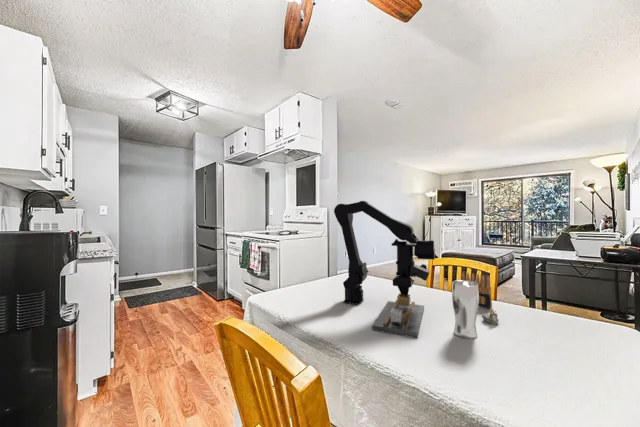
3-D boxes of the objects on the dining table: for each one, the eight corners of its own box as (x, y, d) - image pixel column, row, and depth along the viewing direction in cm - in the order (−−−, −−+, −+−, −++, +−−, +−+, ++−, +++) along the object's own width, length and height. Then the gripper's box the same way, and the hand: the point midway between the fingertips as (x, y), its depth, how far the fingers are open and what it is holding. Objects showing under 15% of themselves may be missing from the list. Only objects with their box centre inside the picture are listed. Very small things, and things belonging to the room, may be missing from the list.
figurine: (478, 318, 94) (480, 301, 93) (491, 318, 94) (493, 301, 93) (488, 327, 88) (491, 309, 88) (502, 327, 89) (505, 309, 88)
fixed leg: (390, 325, 86) (390, 311, 86) (392, 322, 89) (392, 308, 88) (400, 327, 85) (400, 312, 85) (402, 323, 87) (402, 309, 87)
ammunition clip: (492, 307, 105) (491, 275, 104) (490, 308, 103) (490, 276, 103) (461, 301, 112) (461, 271, 112) (459, 302, 111) (459, 271, 111)
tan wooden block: (397, 305, 100) (397, 296, 100) (399, 302, 104) (398, 293, 104) (408, 307, 99) (408, 297, 99) (410, 303, 102) (410, 294, 102)
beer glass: (476, 330, 85) (476, 280, 84) (481, 341, 78) (481, 286, 78) (450, 327, 87) (450, 279, 87) (453, 337, 80) (453, 284, 80)
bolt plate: (372, 330, 86) (372, 322, 86) (388, 305, 108) (388, 298, 108) (417, 337, 80) (417, 329, 80) (424, 309, 103) (424, 302, 103)
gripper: (426, 263, 93) (427, 311, 93) (429, 255, 110) (429, 295, 110) (392, 261, 97) (392, 306, 97) (399, 253, 114) (400, 292, 115)
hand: (405, 300), depth 105 cm, fingers closed
